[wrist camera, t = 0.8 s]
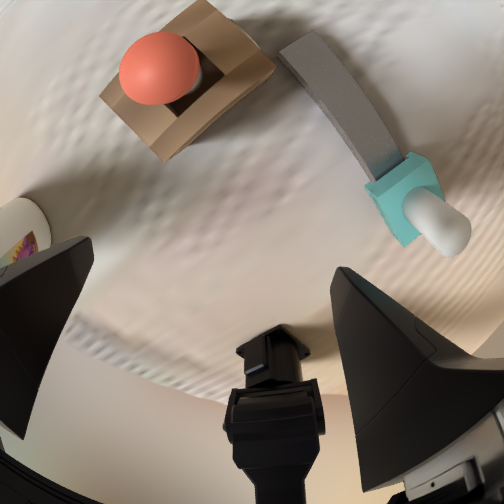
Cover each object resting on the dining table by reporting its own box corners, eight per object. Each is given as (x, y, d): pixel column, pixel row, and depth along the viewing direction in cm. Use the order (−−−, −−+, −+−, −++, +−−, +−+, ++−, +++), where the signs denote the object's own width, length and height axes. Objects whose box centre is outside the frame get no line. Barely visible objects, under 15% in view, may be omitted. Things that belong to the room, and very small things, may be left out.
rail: (413, 194, 21) (424, 202, 19) (389, 213, 22) (398, 222, 20) (307, 36, 15) (313, 29, 13) (276, 56, 16) (279, 51, 14)
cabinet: (274, 73, 17) (284, 61, 11) (187, 146, 19) (164, 162, 14) (220, 20, 14) (209, -9, 9) (137, 95, 17) (98, 96, 12)
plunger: (224, 77, 13) (212, 64, 8) (182, 114, 14) (152, 120, 9) (187, 41, 11) (160, 18, 7) (146, 79, 12) (105, 74, 8)
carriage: (432, 199, 19) (487, 242, 13) (390, 231, 21) (435, 286, 15) (410, 151, 18) (473, 181, 11) (363, 186, 19) (412, 231, 13)
